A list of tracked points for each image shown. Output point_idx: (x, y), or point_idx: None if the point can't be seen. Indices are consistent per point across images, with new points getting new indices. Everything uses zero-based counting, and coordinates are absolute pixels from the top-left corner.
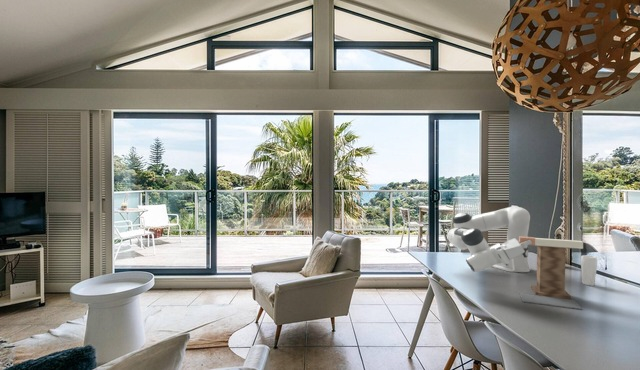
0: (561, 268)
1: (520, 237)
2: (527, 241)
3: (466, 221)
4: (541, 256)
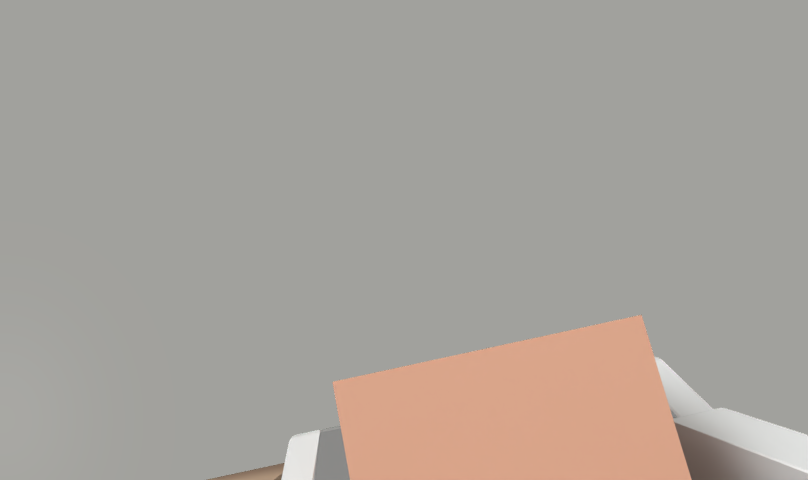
0: None
1: (637, 316)
2: (695, 408)
3: None
4: None
